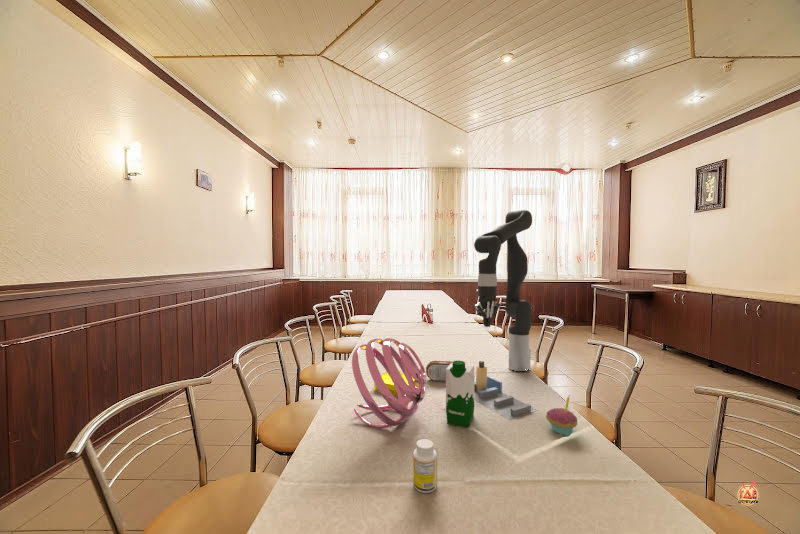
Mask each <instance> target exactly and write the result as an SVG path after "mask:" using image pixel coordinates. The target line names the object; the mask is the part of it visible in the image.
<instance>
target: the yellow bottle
mask: <svg viewBox="0 0 800 534" xmlns="http://www.w3.org/2000/svg"><path fill="white" fill-rule="evenodd" d="M475 367H476V368H475V369H476V370H475V371H476V372H475V373H476V374H475V375H476V376H475V380H476V381H475V382H476V393H477V394H479V391H482V390H485V389H487V376H488V367H487V366H486V365H485V361H483V360H480V361H478V365H476V366H475Z"/></svg>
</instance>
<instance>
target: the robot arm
mask: <svg viewBox="0 0 800 534" xmlns="http://www.w3.org/2000/svg"><path fill="white" fill-rule="evenodd" d="M532 224H533V215H532V213H531V212H530V211H529V210H527V209H521V210H512V211H508V212H507V213H506V215H505V223H503V224H501V225H499V226H497V227H496V228H494V229H493V230H491V231H489V232H486V233H484V234H481V235H479V236H477V238H476V239H475V241H474V244H473V247H474V250H475V251H476V252H477V253H479V254H488V255H487V257H485V258H483V259H480V260H479V261H478V278H477V295H478V302H477V303H476V304H473V308H474V309H475V311H476V312H477V314H478V315H479V317H482V318H483V326H484V327H485V328H491V325H492V317H494V316H495V315H497V314H496V313H497V312H498V310H499V308H500V307H501V303H500V302H498V301H497V298H496V297H497V296H498V295H497V294H498V278H497V264H498V259H499V254H500V252H501V248H502V245H503V244H504V243H505V242H506V245H507V246H506V249H507V251H506V252H507V253H506V255H507V258H506V271H507V273H506V276H507V279H506V282H507V283H506V294H505V295H506V296H505V297H506V298H505V307H504V308H505V313H506V315H507V316H508V317H509V318H514V319H515V322H514V325H510V326H509V327H508V369H509V370H510V369H511V370H510V371H512V370H514V371H513V372H516V371H526V370H527V369H529V370H531V349H530V331H531V328H532V318H533V309H532V305H531V303H530V302H529V301H527V300H525V299H521V298H520V297H521V295H520V294H521V287H522V284H523V283H524V280H525V279H526V277H527V275H528V268H529V267H528V260H529V259H528V256H527V254H526V253H525V250H524V249H523V248H522V246H521V244H520V242H519V241H518V237H517V234H520V232H523V231H526V230H529V229H530V228H531V226H532ZM525 369H526V370H525Z"/></svg>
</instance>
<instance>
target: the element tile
mask: <svg viewBox="0 0 800 534" xmlns="http://www.w3.org/2000/svg"><path fill="white" fill-rule="evenodd" d="M399 372H400V374H401V376H402V377H403V379H404V380H405V382H406V383H407V384H408V382H407V380H406V377H405V375H404V373H403V372H402V370H401V371H400V370H399ZM381 377H382V379H383V380H384V382H385V384H386V386H387V387H388V389H389V390H390V392H391V393H392V395H393V394H394V395H393V396H398V394H397V391H396V389H395V386H394V384H393V382H392V380H391V378H390V376H389V375H388V373H387V371H385V373H382V374H381ZM412 378H413V377H412ZM413 381H414V383H415V386H416V387H418V385H419V384H418V383H417V382H416V381H415V380H414V379H413ZM373 382H374V381H373ZM408 385H409V384H408ZM373 387H374V389H375V390H376V391H375V390H374V391H375V392H378V391H379V390H378V388H377V386H376V384H375V382H374V386H373Z"/></svg>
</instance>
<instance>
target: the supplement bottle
mask: <svg viewBox="0 0 800 534" xmlns="http://www.w3.org/2000/svg"><path fill="white" fill-rule="evenodd" d="M412 457H413V459H412V461H413V462H412V464H413V465H412V466H413V468H412V469H413V470H412V471H413V473H412V475H413V486H414V488H415V490H416V491H417V492H419V493H423V494H428V493H432V492H434V491H435V490H436V488H437V486H438V454H437V450H436V449H435V447H434V442H433V441H432V440H430V439H427V438H422V439H419V440H417V442H416V446H415V449H414V450H413V454H412Z"/></svg>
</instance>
